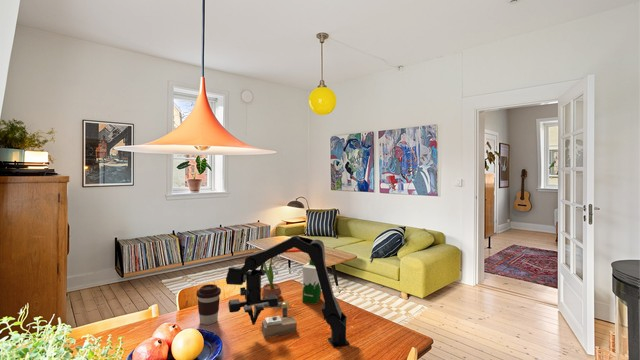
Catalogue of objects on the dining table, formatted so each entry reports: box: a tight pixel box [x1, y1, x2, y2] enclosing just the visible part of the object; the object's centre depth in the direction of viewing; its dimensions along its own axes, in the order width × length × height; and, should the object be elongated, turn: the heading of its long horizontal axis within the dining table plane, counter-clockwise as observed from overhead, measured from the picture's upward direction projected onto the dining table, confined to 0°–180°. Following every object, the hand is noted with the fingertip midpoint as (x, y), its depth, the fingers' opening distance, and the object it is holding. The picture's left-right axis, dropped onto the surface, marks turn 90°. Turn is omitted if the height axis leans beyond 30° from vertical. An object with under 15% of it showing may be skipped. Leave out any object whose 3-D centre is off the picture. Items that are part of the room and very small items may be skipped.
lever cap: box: [264, 315, 282, 326], centre depth 131 cm, size 4×6×2 cm
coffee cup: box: [195, 283, 222, 326], centre depth 140 cm, size 10×10×15 cm
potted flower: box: [261, 252, 285, 299], centre depth 167 cm, size 12×10×25 cm
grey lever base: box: [261, 308, 298, 339], centre depth 135 cm, size 12×13×6 cm
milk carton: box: [301, 259, 322, 305], centre depth 163 cm, size 9×9×20 cm
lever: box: [263, 300, 290, 309], centre depth 140 cm, size 14×4×2 cm, turn 94°
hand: (253, 324), depth 128 cm, fingers closed
